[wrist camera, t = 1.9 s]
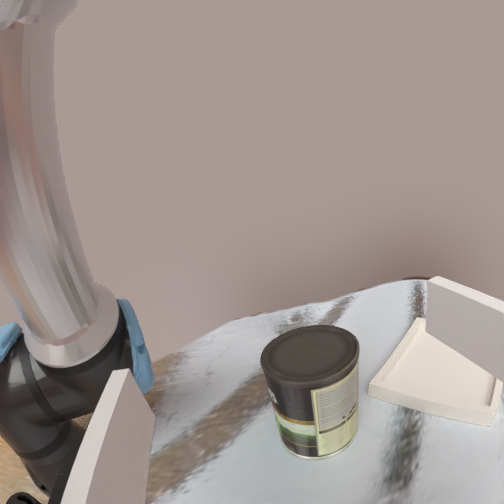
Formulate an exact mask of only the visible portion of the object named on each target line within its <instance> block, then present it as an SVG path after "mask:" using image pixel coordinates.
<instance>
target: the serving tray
mask: <svg viewBox="0 0 504 504" xmlns="http://www.w3.org/2000/svg"><path fill="white" fill-rule="evenodd" d="M425 326H426V319H424V318H418V317H417V318H416V320H415V321H414V323H413V324H412V326H411V327H410V329H409V330H408V332H407V333H406V335H405V336H404V338H403V339H402V341H401V342H400V343H399V345H398V346H397V348H396V349H395V350H394V352H393V353H392V355H391V356H390V357H389V359H388V360H387V361H386V363H385V364H384V365H383V366H382V368H381V369H380V370H379V372H378V373H377V374H376V375H375V377H374V378H373V379H372V380H371V382H370V383H369V390H368V396H371V397H374V398H377V399H381V400H384V401H387V402H390V403H393V404H396V405H400V406H403V407H407V408H410V409H414V410H417V411H421V412H424V413H428V414H432V415H436V416H440V417H444V418H448V419H453V420H457V421H462V422H467V423H472V424H477V425H482V426H488V427H490V426H491V424H492V422H493V420H494V418H495V416H496V414H497V410H498V405H499V401H500V396H501V392H502V386H503V382H502V381H500V380H499V379H497V378H496V377H494V376H493V375H491V374H490V373H488V372H487V371H485V370H484V369H482V368H481V367H479V366H478V365H476V364H475V363H473V362H472V361H470V360H468V359H467V358H465V357H464V356H462V355H461V354H459V353H458V352H456V351H455V350H453V349H452V348H450V347H448V346H447V345H445V344H444V343H442V342H441V341H439V340H438V339H436V338H434V337H433V336H431V335H430V334H428V333H427V332H425Z"/></svg>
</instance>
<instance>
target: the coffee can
mask: <svg viewBox="0 0 504 504" xmlns="http://www.w3.org/2000/svg"><path fill="white" fill-rule="evenodd" d="M358 357H359V342H358V340H357V338H356V337H355V336H354V335H353V334H352V333H350V332H349V331H347V330H345V329H342V328H339V327H335V326H328V325H313V326H306V327H301V328H297V329H294V330H291V331H288V332H286V333H283V334H282V335H280V336H278V337H276V338H275V339H273V340H272V341H271V342H270V343H269V344H268V345H267V346H266V347H265V348H264V350H263V352H262V354H261V358H260V359H261V360H260V362H261V366H262V369H263V372H264V373H265V378H266V381H267V385H268V389H269V393H270V397H271V401H272V404H273V408H274V412H275V416H276V420H277V423H278V427H279V431H280V435H281V441H282V444H283V446H284V447H285V448H286V450H287V451H289V452H290V453H291V454H293V455H295V456H297V457H299V458H303V459H308V460H320V459H326V458H329V457H332V456H335V455H337V454H339V453H340V452H342V451H343V450H345V449H346V448H347V447H348V446H349V445H350V444H351V443H352V441H353V440H354V438H355V436H356V432H357V408H358Z"/></svg>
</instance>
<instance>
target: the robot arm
mask: <svg viewBox="0 0 504 504" xmlns="http://www.w3.org/2000/svg"><path fill="white" fill-rule="evenodd" d="M76 5H77V0H0V280H1V282H2V284H3V286H4V287H5V289H6V291H7V293H8V295H9V297H10V298H11V300H12V302H13V304H14V305H15V307H16V309H17V310H18V312H19V314H20V315H21V317H22V319H23V320H24V322H25V327H24V333H22V328H21V327H20V326H19V325H18V324H17V323H16V322H12V323H8V324H5V325H3V326H1V327H0V435H1V436H2V437H3V439H4V440H5V441H6V442H7V443H8V444H9V446H10V447H11V448H12V449H13V450H14V451H15V452H16V454H17V455H18V456H19V457H20V459H21V461H22V463H23V464H24V466H25V468H26V470H27V472H28V473H29V475H30V477H31V478H32V480H33V482H34V483H35V485H36V486H37V487H38V488H39V489H40V490H41V491H42V492H43V493H44V494H45V495H46V496H48V497H49V498H50V499H49V502H48V504H145V497H146V487H147V478H148V470H149V462H150V454H151V447H152V440H153V433H154V427H155V420H156V417H155V415H154V413H153V412H152V410H151V408H150V407H149V405H148V403H147V401H146V399H145V398H144V396H143V394H144V393H146V392H148V391H150V390H151V389H152V387H153V385H154V372H153V367H152V364H151V360H150V357H149V353H148V351H147V348H146V347H145V342H144V338H143V334H142V332H141V328H140V326H139V323H138V320H137V317H136V315H135V312H134V310H133V308H132V306H131V304H130V302H129V301H128V300H126V299H121V300H120V299H116V298H115V297H114V295H113V294H112V292H111V291H110V290H109V289H107V288H106V287H105V286H103V285H101V284H99V283H96V282H94V280H93V277H92V274H91V272H90V268H89V266H88V263H87V260H86V257H85V254H84V251H83V248H82V244H81V241H80V238H79V235H78V231H77V228H76V224H75V220H74V216H73V213H72V209H71V205H70V201H69V197H68V192H67V187H66V182H65V178H64V173H63V167H62V162H61V155H60V149H59V142H58V134H57V125H56V115H55V102H54V76H53V63H54V60H53V59H54V37H55V31H56V29H57V27H58V26H59V25H60V24H61V23H62V22H63V21H64V20H65V19H66V18H67V17H68V16H69V15H70V14H71V13H72V12H73V11H74V10H75V8H76ZM425 332H427V333H428V334H430V335H431V336H433V337H434V338H436V339H438V340H439V341H441V342H442V343H444V344H445V345H447V346H448V347H450V348H452V349H453V350H455V351H456V352H458V353H459V354H461V355H462V356H464V357H465V358H467V359H468V360H470V361H472V362H473V363H475V364H476V365H478V366H479V367H481V368H482V369H484V370H485V371H487V372H488V373H490V374H491V375H493V376H494V377H496V378H497V379H499V380H500V381H502V382H503V383H504V302H503V301H501V300H499V299H496V298H494V297H491V296H489V295H486V294H484V293H481V292H479V291H476V290H474V289H471V288H468V287H466V286H463V285H461V284H458V283H456V282H452V281H450V280H447V279H445V278H442V277H439V276H436V277H434V278H432V279H430V280H427V310H426V326H425ZM93 412H94V414H93V416H92V418H91V421H90V423H89V426H88V428H87V430H86V429H85V428H83V427H82V426H80V425H79V424H78V423H76V422H75V421H74V420H72V419H74V418H77V417H80V416H83V415H87V414H90V413H93ZM6 504H41V503H40V502H38V501H37V500H36V499H35V498H34V497H32V496H31V495H30V494H28V493H24V492H19V493H15V494H14V495H12V496H11V497H10V498H9V499H8V501H7V502H6Z"/></svg>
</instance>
